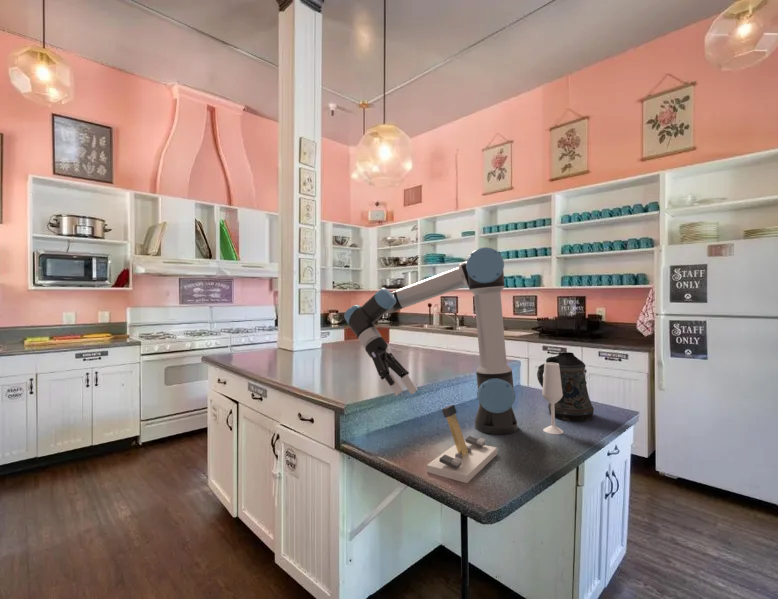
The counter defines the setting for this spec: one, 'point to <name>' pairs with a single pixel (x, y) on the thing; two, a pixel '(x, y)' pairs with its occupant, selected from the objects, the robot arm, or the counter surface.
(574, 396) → the beer stein
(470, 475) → the switch panel
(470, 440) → the block
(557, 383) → the champagne flute
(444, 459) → the block
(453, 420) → the brass lever
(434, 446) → the counter surface
